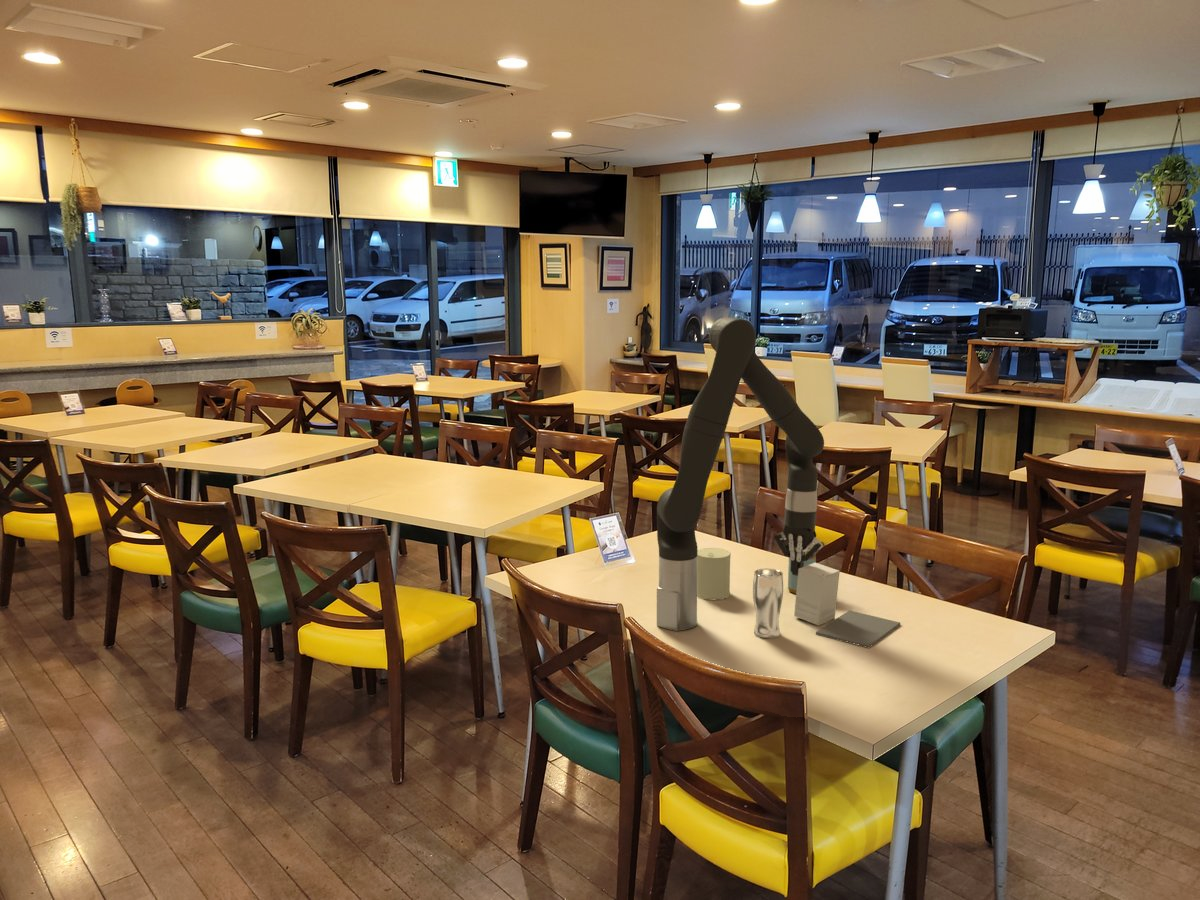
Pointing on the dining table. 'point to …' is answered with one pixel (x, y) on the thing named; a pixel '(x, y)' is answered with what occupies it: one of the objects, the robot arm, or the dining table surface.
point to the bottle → (793, 578)
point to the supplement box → (816, 593)
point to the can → (713, 573)
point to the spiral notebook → (858, 628)
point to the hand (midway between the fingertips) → (796, 574)
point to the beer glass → (767, 601)
